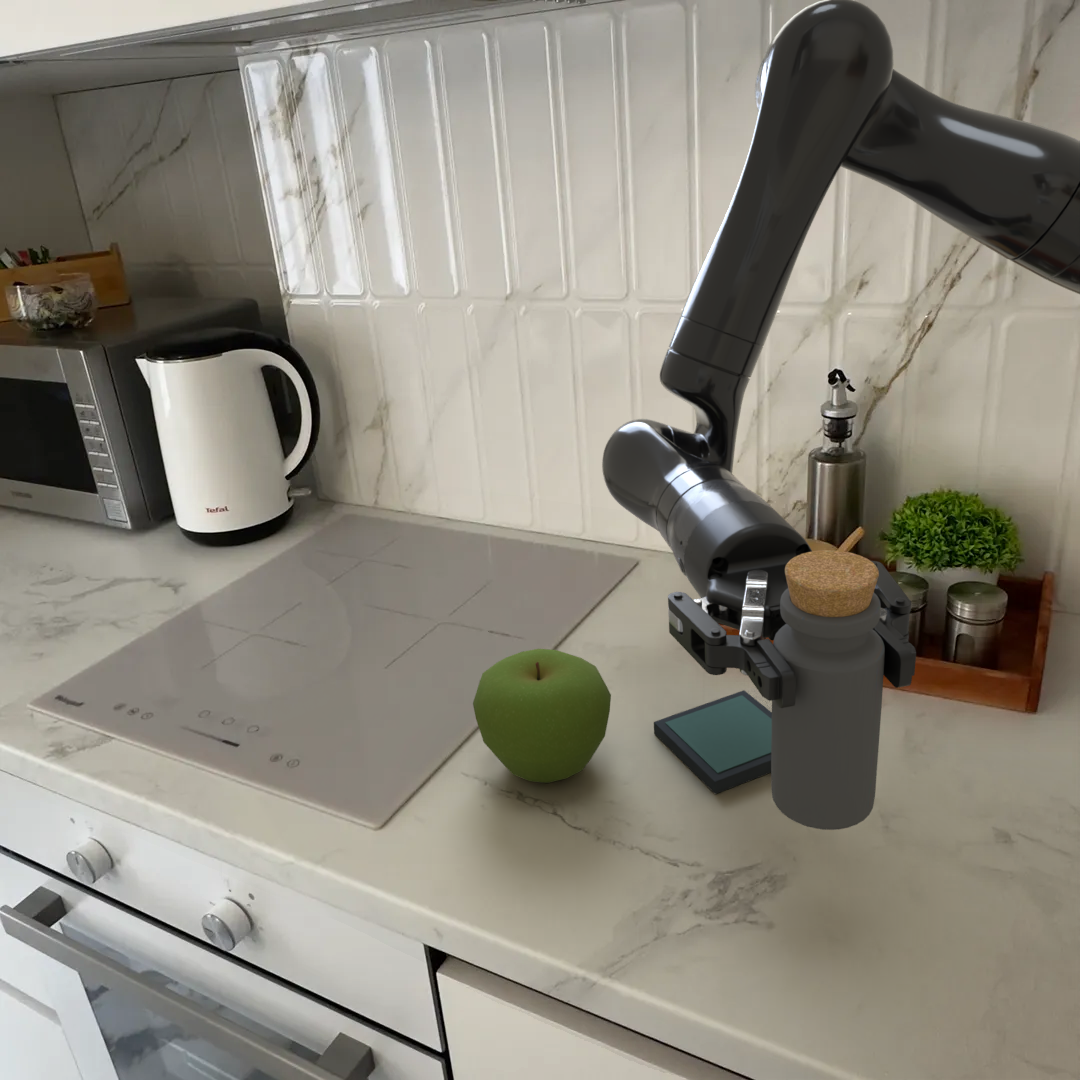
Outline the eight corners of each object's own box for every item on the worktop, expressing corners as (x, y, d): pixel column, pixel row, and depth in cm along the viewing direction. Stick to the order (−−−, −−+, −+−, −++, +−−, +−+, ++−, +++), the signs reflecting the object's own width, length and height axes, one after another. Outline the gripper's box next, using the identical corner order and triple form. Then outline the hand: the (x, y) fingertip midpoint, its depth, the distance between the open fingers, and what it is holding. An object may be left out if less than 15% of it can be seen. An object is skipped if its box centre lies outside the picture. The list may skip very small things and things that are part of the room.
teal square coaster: (744, 701, 84) (744, 688, 84) (811, 756, 77) (812, 743, 76) (653, 733, 81) (653, 720, 81) (715, 794, 73) (714, 780, 73)
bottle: (788, 755, 61) (793, 538, 54) (885, 780, 58) (902, 554, 52) (756, 813, 56) (758, 584, 50) (859, 843, 53) (875, 604, 47)
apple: (641, 774, 76) (636, 665, 72) (529, 831, 71) (516, 718, 67) (563, 712, 85) (555, 612, 81) (458, 760, 80) (443, 655, 76)
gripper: (629, 515, 64) (715, 643, 48) (838, 484, 65) (984, 598, 50) (635, 615, 67) (717, 765, 52) (834, 583, 68) (969, 718, 53)
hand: (848, 682), depth 51 cm, fingers closed on bottle, 6 cm apart
